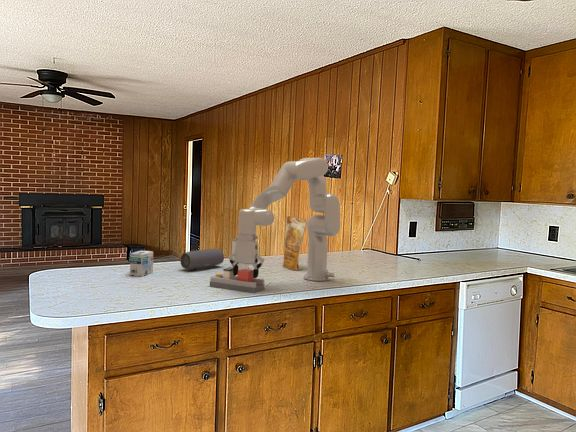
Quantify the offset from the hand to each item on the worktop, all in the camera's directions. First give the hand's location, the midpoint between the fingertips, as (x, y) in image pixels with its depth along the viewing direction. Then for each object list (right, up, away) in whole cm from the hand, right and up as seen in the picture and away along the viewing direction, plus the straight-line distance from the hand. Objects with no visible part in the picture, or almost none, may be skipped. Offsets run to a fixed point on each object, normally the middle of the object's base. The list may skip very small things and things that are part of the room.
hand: (245, 276), depth 199 cm
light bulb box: (-52, -2, +21) cm, 56 cm away
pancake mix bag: (+21, -3, +52) cm, 56 cm away
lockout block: (0, -3, 0) cm, 3 cm away
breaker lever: (-7, -3, +3) cm, 9 cm away
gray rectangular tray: (-4, -5, +2) cm, 7 cm away
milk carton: (-7, -2, +43) cm, 44 cm away
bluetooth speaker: (-26, -2, +41) cm, 49 cm away
